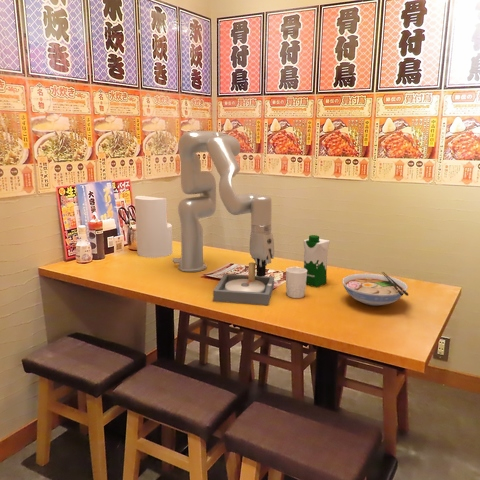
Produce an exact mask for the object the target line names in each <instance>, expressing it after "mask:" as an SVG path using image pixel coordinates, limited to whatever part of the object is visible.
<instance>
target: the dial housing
mask: <svg viewBox="0 0 480 480" xmlns="http://www.w3.org/2000/svg"><path fill="white" fill-rule="evenodd" d="M236 279H249V274H232V273H224V274H223V276H222V277H221V278H220V280H219V282H218V283H217V284H216V286H215V287H214V289H213V293H212V294H213V300H212V301H213V302H217V303H218V302H220V303H232V304H247V305H259V306H261V305H262V306H269V305H270V301H271V297H272V295H273V290H274V287H275V276H267V275H265V276H261V277H259V276H257V275H255V280H257V281H260V282H262V283H264V284H265V292H264V293H259V292H244V291H230V290H225V284H226V283H227V282H229V281H232V280H236Z"/></svg>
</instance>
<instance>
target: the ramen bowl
mask: <svg viewBox="0 0 480 480" xmlns="http://www.w3.org/2000/svg"><path fill="white" fill-rule="evenodd" d="M381 273H382V274H379V273H378V274H377V273H376V274H375V273H366V272H365V273H354V274H349V275H347V276H345V277H343V278H342V285H343V287H344V289H345V291H346V292H347V293H348V295H349V296H350V297H352V298H353V299H354V300H356V301H358V302H360V303H363V304H365V305H368V306H370V307H373V306H374V307H380V306H386V305H389V304H393V303H395V302H397V301H398V300H399V299H400V298H401V297H403V296H404V295H405V296H409V293H408V292H407V290H408V289H409V287H408V284H407V283H406V282H404V281H403V280H401V279H399V278H396V277H393V276H389V275H387V274H386V273H385V272H384V271H381Z"/></svg>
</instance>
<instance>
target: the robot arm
mask: <svg viewBox="0 0 480 480" xmlns="http://www.w3.org/2000/svg"><path fill="white" fill-rule="evenodd" d="M177 143H178V148H177V149H178V155H179V159H180V187H181V190H182V193H184V194H185V195H198V194H199V196H192V197H185V198H183V199H182V200H181V201H179V202H178V205H177V212H178V217H179V223H180V246H181V247H180V249H181V251H180V252H181V257H172V262H173V263H174V264H178V267H177V268H178V269H177V270H179V271H182V272H184V273H185V272H187V273H197V272H202V271H205V270H206V269H207V267H208V266H207V263H205V262H204V231H203V226H202V224H201V222H200V221H199V219H203V218H209V217H211V216H214V214H215V212H216V209H217V183H216V178H215V175H214V174H213V173H212V172H210V171H209V170H208V171H207V170H202V163H201V158H200V157H199V155H198V153H206V152H207V153H208V154H209V156H210V158H211V159H210V160H211V161H212V162H213V165H214V167H215V169H216V170H217V173H218V174H219V177H220V179H219V182H218V193H219V197H220V199H221V202H222V204H223V206H224V207H225V209H226V211H228V213H229V214H230V215H233V216H240V215H245V214H250V215H251V216H250V220H251V221H250V237H249V255H250V257H251V259H252V260H254V263H255V267H256V276H259V277H261V276H267V275H266V273H267V272H266V271H267V270H266V267H267V265H268V264H272V259H273V260H274V259H275V239H274V236H273V232H272V198H271V196H269V195H264V194H263V195H260V194H257V193H253V192H248V193H239V194H236V192H235V190H234V188H233V185H232V179H233V178H234V177H235V176H236V175H238V174H239V172H240V171H241V167H240V165H239V163H238V160H237V158H236V157H238V156H239V154H240V153H241V143H240V141H239V139H238V138H236V137H235V136H233V135H231V134H230V135H229V134H226V133H223V132H219V131H215V130H191V131H187V132H184V133H183V134H182V135H181V136H180V138H179V140H178V142H177Z"/></svg>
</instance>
